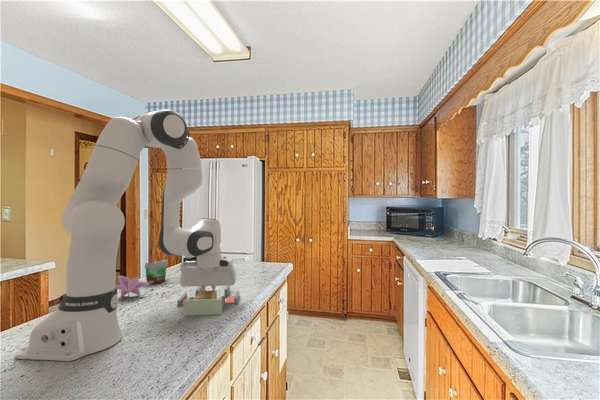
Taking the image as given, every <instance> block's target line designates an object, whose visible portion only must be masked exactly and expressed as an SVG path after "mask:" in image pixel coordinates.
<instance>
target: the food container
mask: <svg viewBox="0 0 600 400" xmlns="http://www.w3.org/2000/svg"><path fill="white" fill-rule="evenodd" d="M168 262H169V261H168V259H167V258H164V257H163V258H161V260H158V261H153V262H149V263H147V262H145V264H144V269H145V276H146V283H149V284H153V285H158V284H159V283H160V284H163V283H165V282H166V276H167V274H166V273H167V265H169V263H168ZM160 284H159V285H160Z"/></svg>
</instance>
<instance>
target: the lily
mask: <svg viewBox="0 0 600 400" xmlns="http://www.w3.org/2000/svg"><path fill="white" fill-rule="evenodd" d="M117 277H118V280H119V283H120V284H118V285H117V284H116V287H117V290H120V296H121V297H124V296H126V295H127V302H130V293H132V294H134V295H137V296H141V291H140V289H141V288H143V287H147V286H149V285H150V284H149V283H147V281H139V280H140V277H139V276H135V277H133V278H129V277H127V276H124V275H118V276H117ZM150 286H151V285H150Z"/></svg>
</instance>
